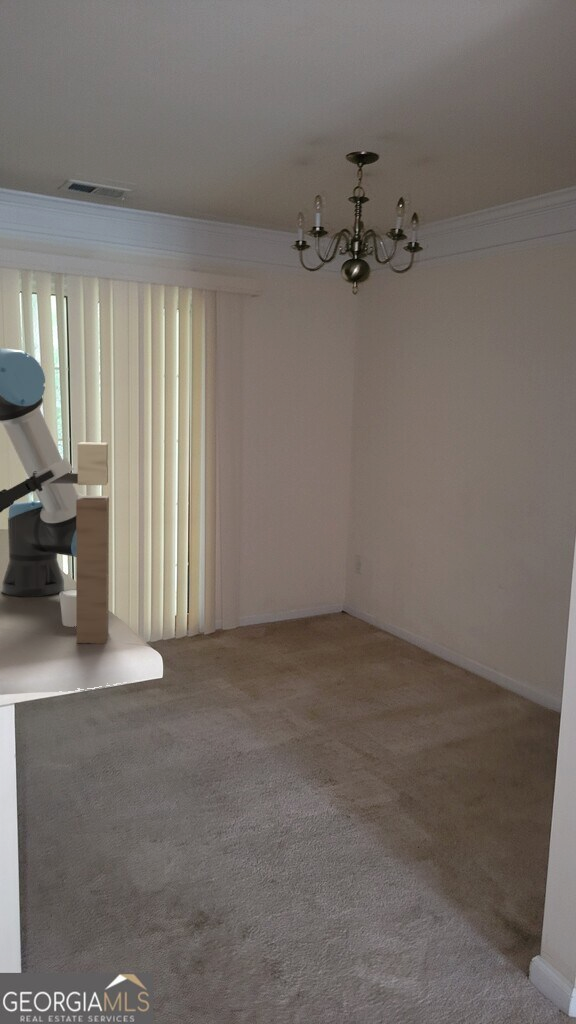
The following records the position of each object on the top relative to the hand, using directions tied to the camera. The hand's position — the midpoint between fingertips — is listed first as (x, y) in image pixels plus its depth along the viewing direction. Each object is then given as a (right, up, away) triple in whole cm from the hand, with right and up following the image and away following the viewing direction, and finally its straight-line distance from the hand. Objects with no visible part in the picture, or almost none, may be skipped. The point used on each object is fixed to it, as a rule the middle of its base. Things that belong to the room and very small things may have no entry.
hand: (68, 464), depth 153 cm
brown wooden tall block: (+3, -35, +6) cm, 36 cm away
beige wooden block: (0, -4, +1) cm, 4 cm away
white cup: (-3, -34, +16) cm, 38 cm away
